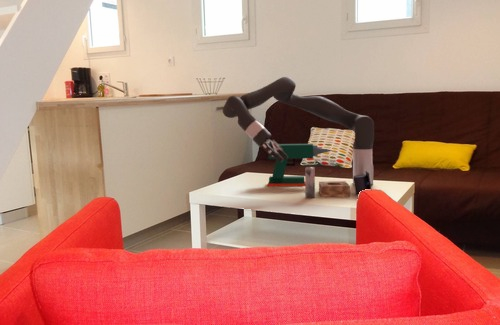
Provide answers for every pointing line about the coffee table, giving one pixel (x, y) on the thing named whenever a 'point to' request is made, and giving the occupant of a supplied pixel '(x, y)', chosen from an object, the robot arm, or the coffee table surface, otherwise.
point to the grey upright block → (309, 182)
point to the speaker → (362, 182)
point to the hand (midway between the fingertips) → (284, 159)
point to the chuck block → (334, 188)
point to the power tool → (292, 153)
